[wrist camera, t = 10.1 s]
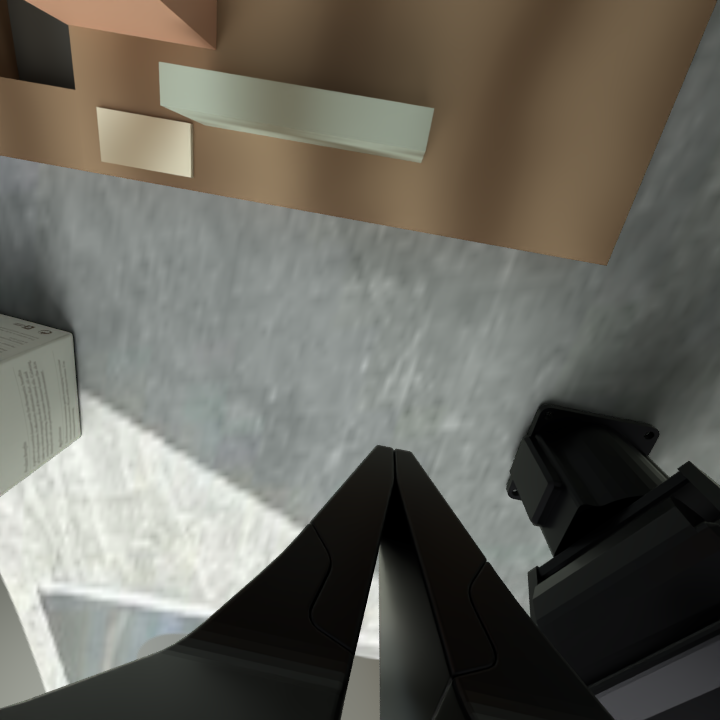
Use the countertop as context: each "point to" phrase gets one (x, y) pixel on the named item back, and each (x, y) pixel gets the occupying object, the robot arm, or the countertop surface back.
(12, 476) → the skincare box
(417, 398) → the countertop surface
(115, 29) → the block
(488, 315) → the countertop surface
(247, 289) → the countertop surface
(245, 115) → the tunnel deck
